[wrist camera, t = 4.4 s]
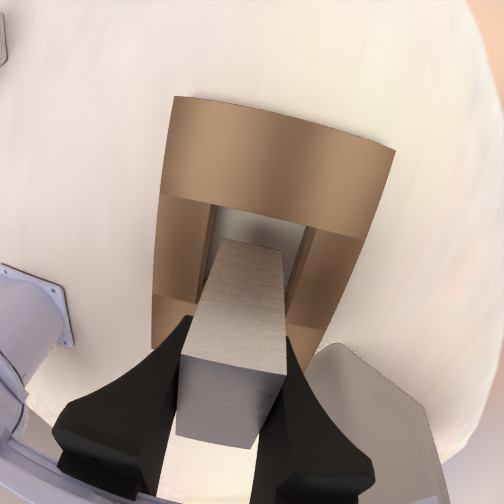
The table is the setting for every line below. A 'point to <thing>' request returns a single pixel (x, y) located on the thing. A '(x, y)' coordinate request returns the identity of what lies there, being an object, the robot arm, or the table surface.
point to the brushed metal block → (234, 348)
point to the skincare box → (2, 41)
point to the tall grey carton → (379, 427)
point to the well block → (263, 206)
